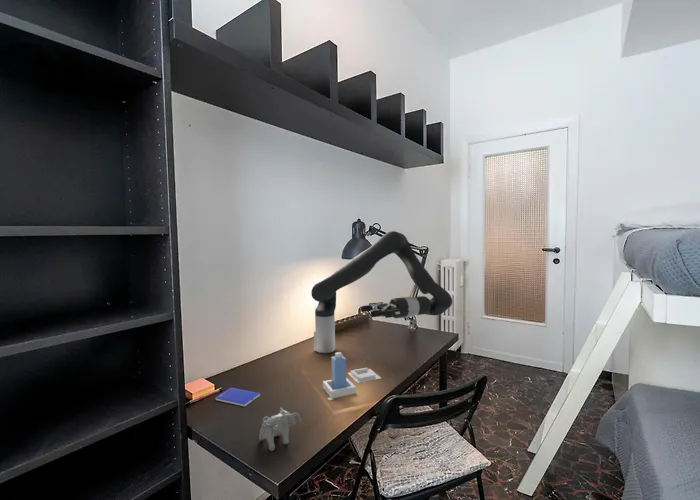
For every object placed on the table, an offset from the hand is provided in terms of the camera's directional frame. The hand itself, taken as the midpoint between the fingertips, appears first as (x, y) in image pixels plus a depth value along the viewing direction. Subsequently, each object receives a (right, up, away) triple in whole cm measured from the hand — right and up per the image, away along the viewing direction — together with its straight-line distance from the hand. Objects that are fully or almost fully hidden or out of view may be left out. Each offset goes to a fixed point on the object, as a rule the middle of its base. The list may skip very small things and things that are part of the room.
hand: (365, 311), depth 127 cm
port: (-10, -28, -3) cm, 30 cm away
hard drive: (-45, -30, -5) cm, 54 cm away
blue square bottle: (-10, -28, -3) cm, 29 cm away
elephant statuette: (-25, -30, -30) cm, 49 cm away
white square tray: (0, -27, +10) cm, 29 cm away
